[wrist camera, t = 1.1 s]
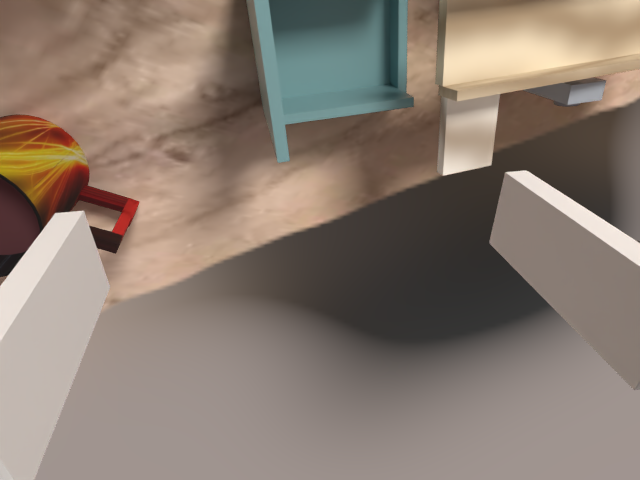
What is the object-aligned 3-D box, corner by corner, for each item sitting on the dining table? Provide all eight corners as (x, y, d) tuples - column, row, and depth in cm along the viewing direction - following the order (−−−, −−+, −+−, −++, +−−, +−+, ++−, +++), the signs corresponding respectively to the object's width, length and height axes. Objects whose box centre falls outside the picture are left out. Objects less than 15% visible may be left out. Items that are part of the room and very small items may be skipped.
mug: (143, 204, 45) (117, 266, 34) (-2, 215, 42) (-77, 285, 32) (121, 110, 40) (83, 150, 29) (-44, 117, 38) (-147, 162, 27)
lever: (432, -29, 29) (470, -33, 25) (731, -60, 34) (798, -67, 31) (424, 168, 36) (453, 187, 32) (673, 116, 42) (722, 127, 38)
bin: (241, -32, 36) (246, -49, 22) (396, -47, 37) (490, -71, 24) (262, 108, 42) (277, 162, 28) (396, 90, 43) (471, 134, 30)
